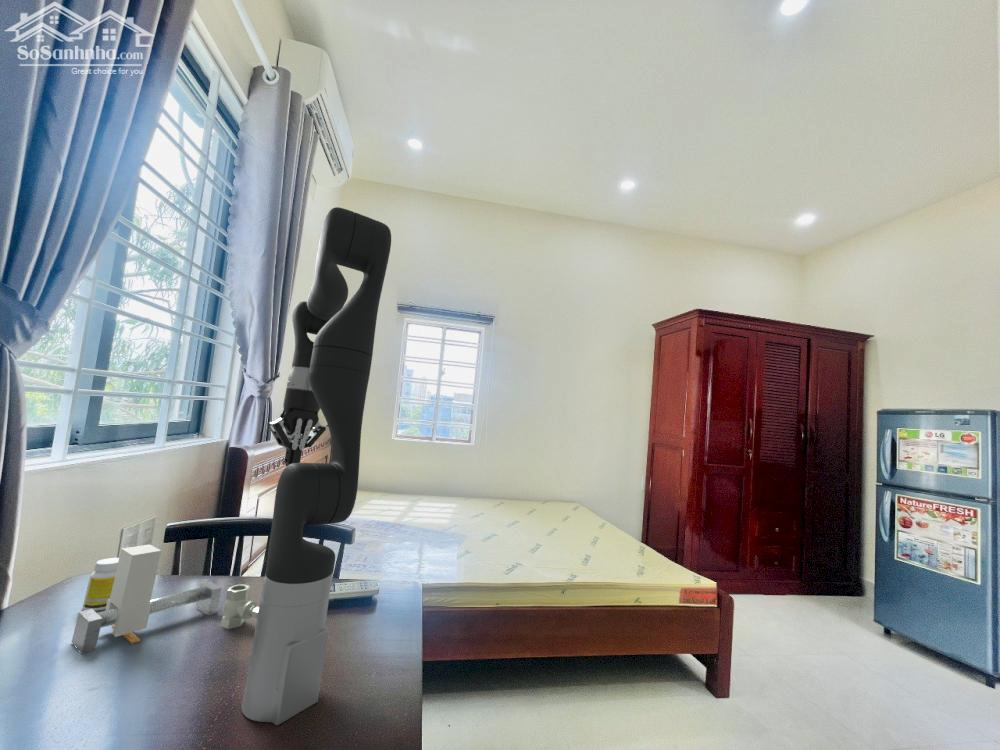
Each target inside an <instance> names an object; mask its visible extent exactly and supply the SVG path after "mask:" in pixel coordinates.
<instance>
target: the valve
mask: <svg viewBox="0 0 1000 750" xmlns="http://www.w3.org/2000/svg"><path fill="white" fill-rule="evenodd" d="M250 591H251V586H250V585H248V584H243V583H242V584H236V585H232V586H230V587H229V588H228V589H227V591H226V596H225V601H224V603H223V604H222V607H221V608H222V610H221V612H222V617H221V621H220V627H221V628H224V629H225V630H226V629H227V630H232V629H235V628H239V627H241V626H242V625H243V624H244V622H245V620H249V619H251V618H255V619H257V617H258V611H259V606H258V603H257V602H256V601H253V600H249V597H248V596H250Z"/></svg>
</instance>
